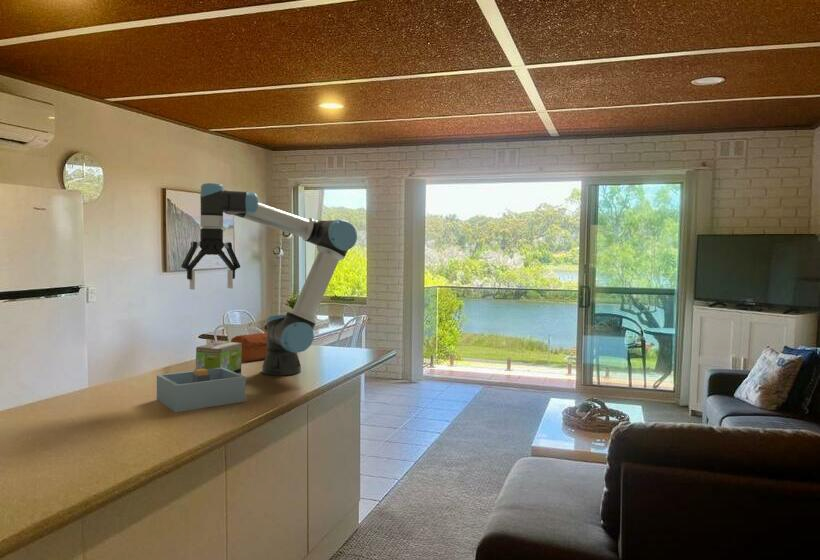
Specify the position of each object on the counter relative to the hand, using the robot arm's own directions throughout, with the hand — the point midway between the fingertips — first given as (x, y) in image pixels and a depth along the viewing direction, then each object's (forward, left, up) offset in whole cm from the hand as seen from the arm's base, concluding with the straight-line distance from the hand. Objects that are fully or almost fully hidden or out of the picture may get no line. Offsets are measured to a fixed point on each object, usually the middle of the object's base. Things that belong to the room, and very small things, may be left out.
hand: (211, 288), depth 208 cm
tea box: (-3, -1, -35) cm, 35 cm away
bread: (-40, -43, -35) cm, 68 cm away
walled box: (+10, +17, -35) cm, 40 cm away
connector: (+10, +17, -35) cm, 40 cm away
